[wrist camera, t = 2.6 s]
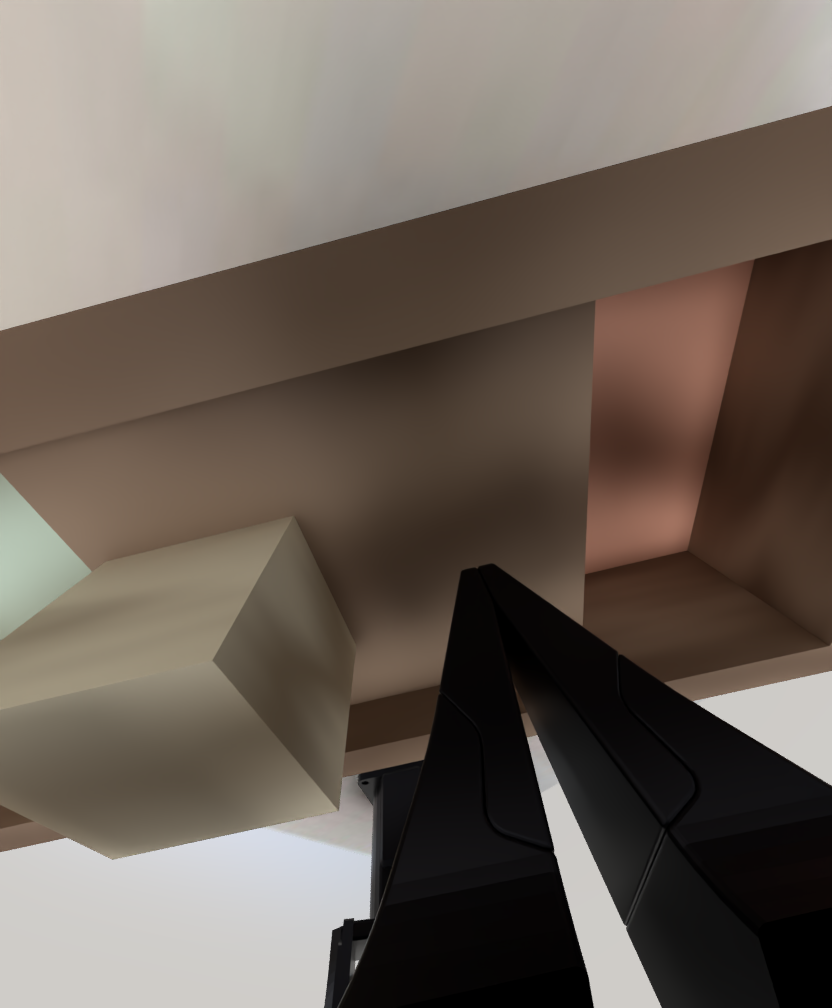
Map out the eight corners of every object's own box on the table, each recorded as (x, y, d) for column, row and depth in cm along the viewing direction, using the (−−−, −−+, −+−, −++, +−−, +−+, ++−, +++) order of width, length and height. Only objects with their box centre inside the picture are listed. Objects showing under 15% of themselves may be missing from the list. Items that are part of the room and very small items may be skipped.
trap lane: (694, 565, 15) (842, 668, 10) (14, 722, 16) (-148, 884, 11) (790, 186, 9) (1309, -24, 4) (-347, 487, 10) (-1092, 625, 5)
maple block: (356, 645, 10) (338, 811, 6) (209, 679, 10) (112, 858, 7) (294, 515, 8) (212, 660, 4) (105, 562, 8) (-133, 740, 4)
